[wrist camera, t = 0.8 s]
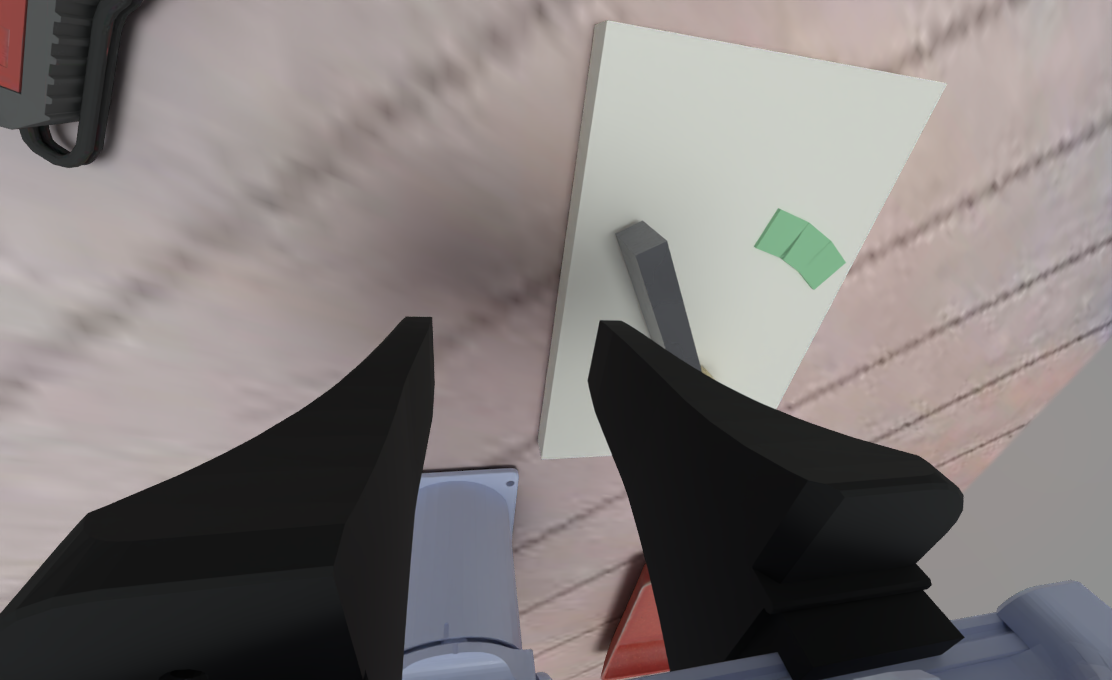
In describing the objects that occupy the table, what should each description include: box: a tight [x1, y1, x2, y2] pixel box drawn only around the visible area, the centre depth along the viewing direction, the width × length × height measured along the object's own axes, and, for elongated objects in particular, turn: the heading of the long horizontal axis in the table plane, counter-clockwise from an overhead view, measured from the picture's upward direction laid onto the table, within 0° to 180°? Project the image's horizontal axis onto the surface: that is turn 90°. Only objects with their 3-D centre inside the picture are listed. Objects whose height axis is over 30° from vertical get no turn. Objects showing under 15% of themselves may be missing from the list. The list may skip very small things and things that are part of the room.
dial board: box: [538, 20, 947, 460], centre depth 20 cm, size 20×14×2 cm
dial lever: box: [615, 221, 715, 380], centre depth 19 cm, size 12×4×3 cm, turn 23°
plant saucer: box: [601, 563, 670, 680], centre depth 39 cm, size 18×18×3 cm
